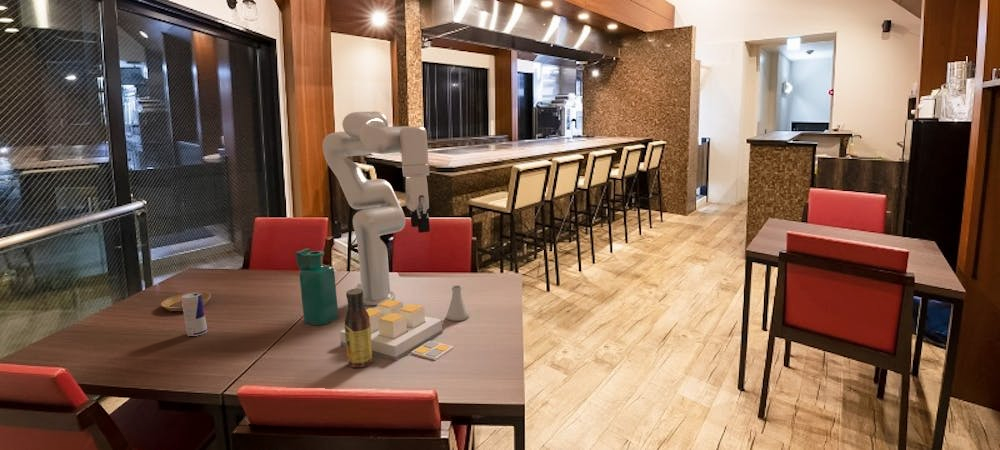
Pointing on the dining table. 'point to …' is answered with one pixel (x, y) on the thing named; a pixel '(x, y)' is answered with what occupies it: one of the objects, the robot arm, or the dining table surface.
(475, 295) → the dining table surface
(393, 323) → the button
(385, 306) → the button
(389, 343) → the button board
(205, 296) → the plant saucer
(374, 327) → the button
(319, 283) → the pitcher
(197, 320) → the energy drink
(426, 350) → the card
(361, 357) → the sauce bottle
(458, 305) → the flask
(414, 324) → the button
